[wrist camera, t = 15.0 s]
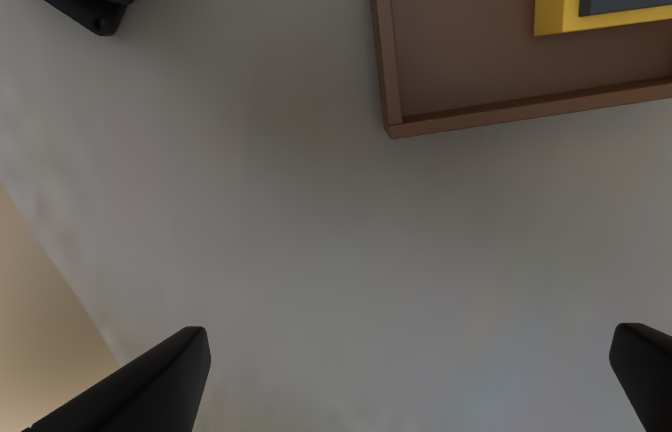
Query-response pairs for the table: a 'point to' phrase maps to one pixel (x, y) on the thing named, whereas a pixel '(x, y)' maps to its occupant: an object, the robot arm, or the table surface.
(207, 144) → the table surface
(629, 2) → the sponge wand
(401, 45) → the tray
